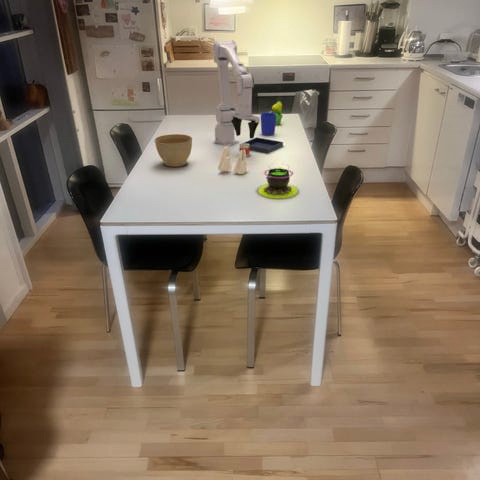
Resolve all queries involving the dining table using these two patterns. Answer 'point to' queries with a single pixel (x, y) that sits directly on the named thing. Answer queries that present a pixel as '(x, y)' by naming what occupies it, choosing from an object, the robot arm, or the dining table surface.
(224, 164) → the shaker set
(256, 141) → the tray
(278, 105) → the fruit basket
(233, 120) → the robot arm
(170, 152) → the planter bowl
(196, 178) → the dining table surface
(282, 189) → the toy cauldron
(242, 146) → the tin can
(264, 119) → the mug
